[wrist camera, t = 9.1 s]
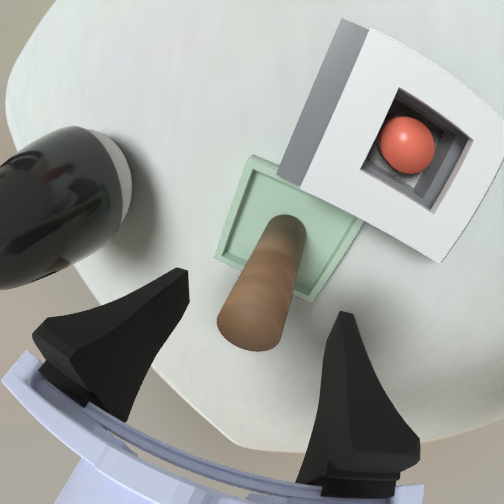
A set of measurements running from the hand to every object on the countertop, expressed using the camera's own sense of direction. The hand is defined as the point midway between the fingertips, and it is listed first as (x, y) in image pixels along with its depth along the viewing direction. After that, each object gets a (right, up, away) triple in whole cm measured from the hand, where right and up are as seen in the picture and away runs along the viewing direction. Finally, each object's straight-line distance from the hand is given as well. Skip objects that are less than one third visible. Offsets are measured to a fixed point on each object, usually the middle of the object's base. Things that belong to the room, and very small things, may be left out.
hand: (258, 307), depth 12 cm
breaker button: (+9, +9, +1) cm, 12 cm away
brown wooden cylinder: (+2, +4, +6) cm, 8 cm away
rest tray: (+2, +4, +7) cm, 8 cm away
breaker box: (+9, +9, +1) cm, 13 cm away
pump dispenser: (-13, +9, +9) cm, 18 cm away
